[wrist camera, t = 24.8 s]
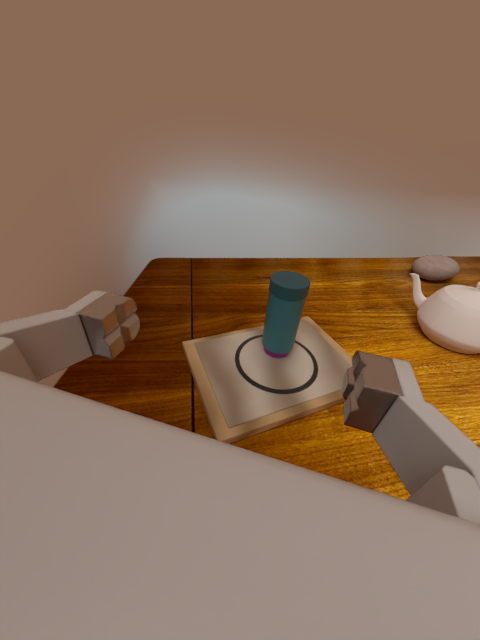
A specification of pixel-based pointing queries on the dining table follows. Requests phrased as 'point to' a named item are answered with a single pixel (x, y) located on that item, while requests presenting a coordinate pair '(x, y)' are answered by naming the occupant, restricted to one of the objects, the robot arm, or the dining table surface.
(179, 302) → the dining table surface
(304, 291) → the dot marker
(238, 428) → the drawing board
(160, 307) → the dining table surface
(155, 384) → the dining table surface
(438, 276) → the decorative stone
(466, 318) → the teapot
